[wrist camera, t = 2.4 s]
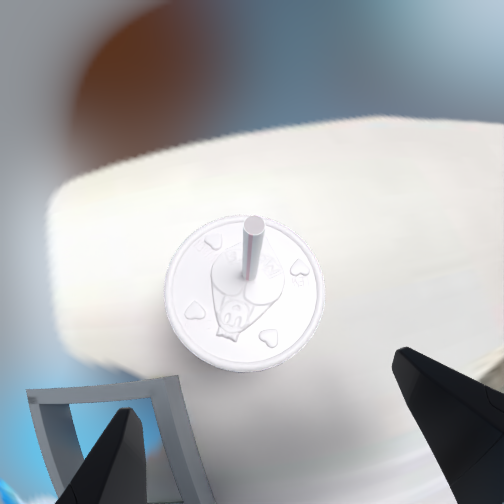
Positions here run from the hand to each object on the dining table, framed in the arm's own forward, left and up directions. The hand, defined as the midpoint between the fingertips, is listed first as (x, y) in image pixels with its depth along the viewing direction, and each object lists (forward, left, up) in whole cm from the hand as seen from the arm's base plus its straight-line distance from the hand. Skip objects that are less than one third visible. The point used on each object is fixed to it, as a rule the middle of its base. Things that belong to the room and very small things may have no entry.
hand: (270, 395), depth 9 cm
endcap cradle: (-4, +10, -11) cm, 16 cm away
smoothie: (+4, 0, -11) cm, 12 cm away
